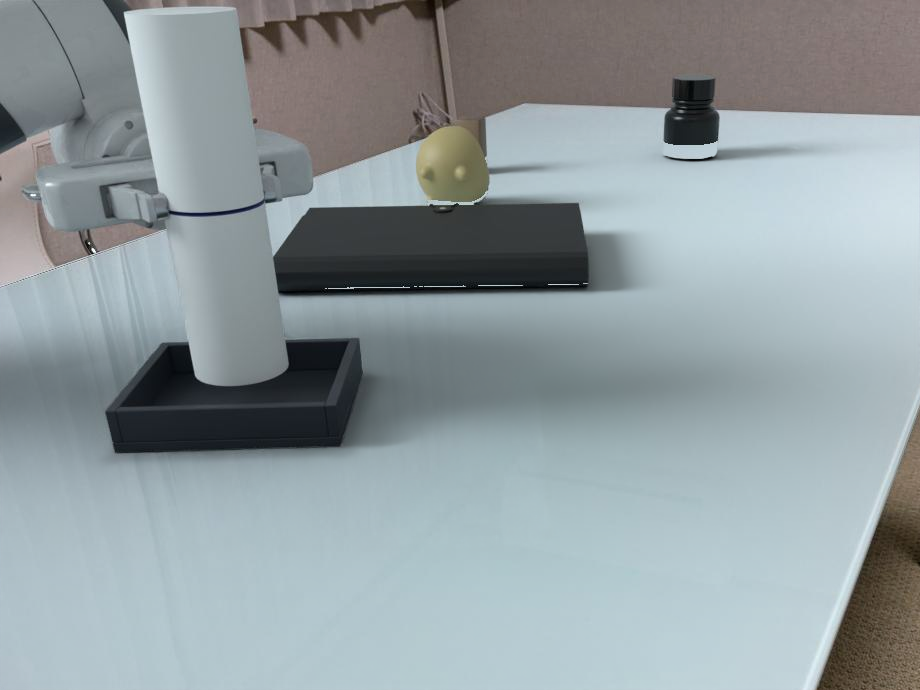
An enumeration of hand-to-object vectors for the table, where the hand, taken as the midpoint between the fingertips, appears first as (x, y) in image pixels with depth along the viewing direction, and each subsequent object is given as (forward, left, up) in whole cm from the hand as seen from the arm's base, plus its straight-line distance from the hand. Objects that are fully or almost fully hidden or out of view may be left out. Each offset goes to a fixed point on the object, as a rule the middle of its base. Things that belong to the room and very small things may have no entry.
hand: (217, 199), depth 74 cm
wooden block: (+15, +94, -17) cm, 97 cm away
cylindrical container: (-1, +1, -13) cm, 13 cm away
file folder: (+12, +43, -17) cm, 47 cm away
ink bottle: (+51, +103, -17) cm, 116 cm away
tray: (-1, +1, -16) cm, 17 cm away
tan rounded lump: (+13, +70, -17) cm, 73 cm away
